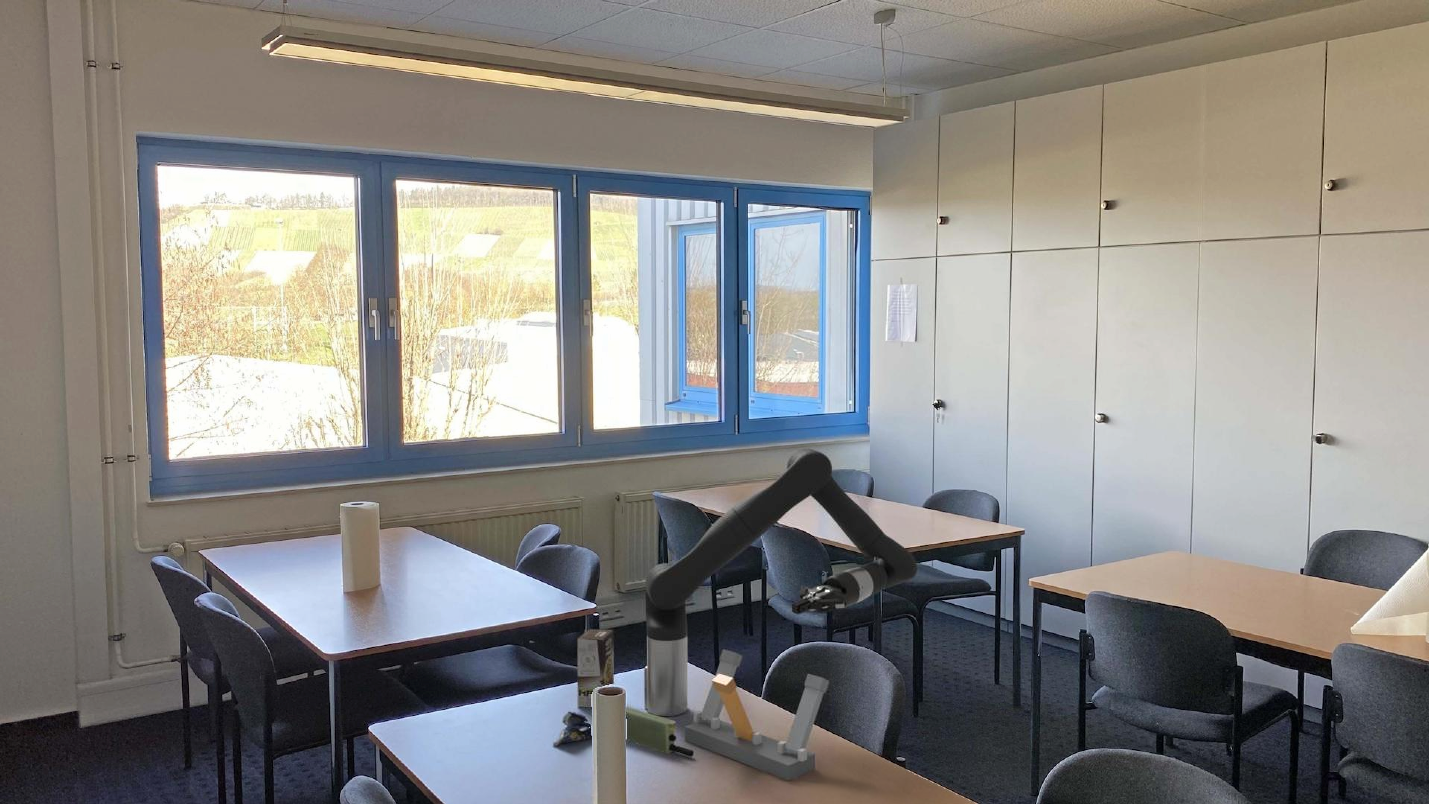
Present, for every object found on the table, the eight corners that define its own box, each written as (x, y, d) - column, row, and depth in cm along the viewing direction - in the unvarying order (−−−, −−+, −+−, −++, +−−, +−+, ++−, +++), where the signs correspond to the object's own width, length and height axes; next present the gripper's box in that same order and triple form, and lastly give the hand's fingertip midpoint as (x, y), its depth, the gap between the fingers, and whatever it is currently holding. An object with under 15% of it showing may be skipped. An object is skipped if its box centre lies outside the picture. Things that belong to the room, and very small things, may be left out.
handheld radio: (609, 729, 230) (697, 757, 215) (599, 734, 228) (687, 762, 212) (608, 699, 230) (696, 725, 214) (597, 704, 227) (686, 730, 212)
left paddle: (698, 716, 225) (723, 649, 229) (704, 719, 226) (729, 652, 231) (711, 721, 222) (736, 652, 227) (718, 724, 223) (742, 656, 228)
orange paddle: (735, 737, 216) (711, 680, 210) (742, 729, 217) (718, 673, 212) (750, 742, 213) (726, 685, 207) (756, 735, 214) (733, 678, 209)
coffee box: (603, 709, 242) (602, 639, 241) (576, 707, 244) (576, 638, 243) (615, 696, 251) (614, 629, 250) (589, 694, 253) (588, 627, 252)
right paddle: (783, 746, 208) (807, 673, 212) (789, 749, 209) (814, 676, 214) (798, 752, 205) (823, 678, 210) (804, 755, 206) (829, 681, 211)
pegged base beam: (682, 739, 223) (682, 716, 223) (709, 730, 229) (709, 707, 229) (790, 781, 202) (790, 756, 202) (817, 769, 208) (817, 744, 207)
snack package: (543, 733, 228) (555, 751, 217) (548, 704, 228) (560, 720, 217) (596, 735, 233) (611, 753, 222) (601, 706, 233) (615, 722, 222)
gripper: (826, 564, 241) (772, 584, 230) (871, 579, 231) (816, 601, 220) (826, 595, 242) (772, 617, 231) (871, 611, 232) (817, 634, 221)
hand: (794, 609), depth 225 cm, fingers closed
